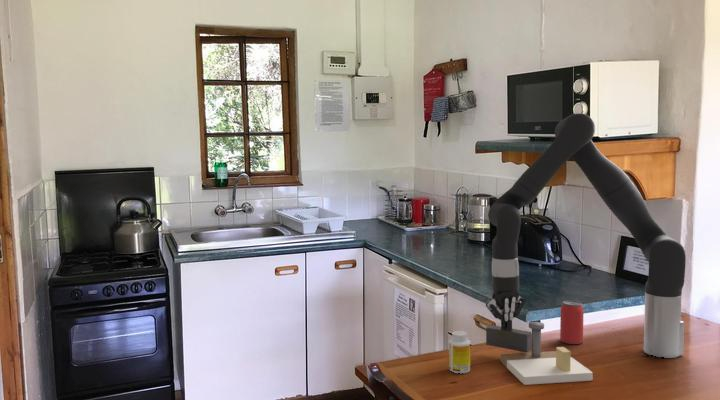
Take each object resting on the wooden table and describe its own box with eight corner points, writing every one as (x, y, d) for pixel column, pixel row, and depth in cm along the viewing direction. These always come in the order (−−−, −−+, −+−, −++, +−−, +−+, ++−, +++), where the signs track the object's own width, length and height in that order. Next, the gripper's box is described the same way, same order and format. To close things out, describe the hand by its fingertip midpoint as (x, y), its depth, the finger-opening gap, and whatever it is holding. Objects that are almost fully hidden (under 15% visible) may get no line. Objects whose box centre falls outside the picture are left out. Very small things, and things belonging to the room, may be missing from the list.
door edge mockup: (562, 357, 172) (563, 319, 171) (592, 380, 155) (593, 337, 154) (500, 361, 169) (500, 322, 168) (524, 384, 153) (524, 341, 152)
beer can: (584, 345, 182) (585, 305, 181) (561, 344, 183) (562, 305, 182) (581, 338, 188) (582, 300, 187) (558, 337, 189) (559, 299, 188)
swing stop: (531, 349, 170) (531, 332, 169) (526, 352, 167) (527, 334, 167) (490, 342, 177) (490, 325, 176) (486, 344, 174) (486, 327, 174)
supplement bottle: (474, 372, 162) (474, 334, 161) (457, 375, 159) (457, 337, 158) (462, 365, 167) (462, 328, 166) (445, 369, 164) (444, 331, 163)
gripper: (515, 268, 180) (516, 325, 182) (478, 273, 175) (479, 333, 176) (532, 272, 173) (533, 332, 175) (494, 278, 168) (495, 340, 170)
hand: (506, 332), depth 176 cm, fingers closed
